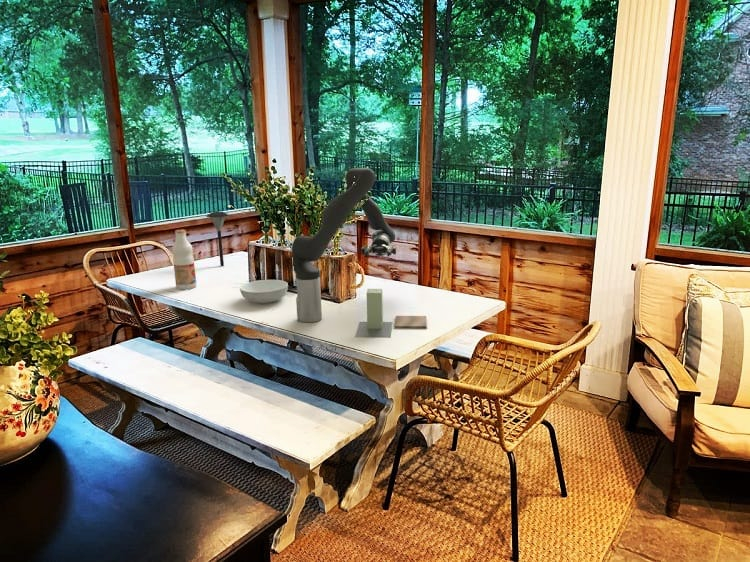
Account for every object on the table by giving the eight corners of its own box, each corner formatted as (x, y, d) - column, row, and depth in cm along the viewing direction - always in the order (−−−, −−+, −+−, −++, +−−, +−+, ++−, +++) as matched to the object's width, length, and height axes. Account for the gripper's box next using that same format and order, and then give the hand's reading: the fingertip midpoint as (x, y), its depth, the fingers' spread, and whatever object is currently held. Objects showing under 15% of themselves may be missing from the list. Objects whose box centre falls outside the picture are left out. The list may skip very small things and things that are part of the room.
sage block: (367, 328, 213) (366, 292, 210) (368, 323, 219) (367, 288, 215) (381, 328, 213) (381, 292, 209) (382, 323, 218) (382, 288, 215)
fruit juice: (173, 287, 275) (167, 230, 268) (192, 283, 281) (187, 227, 273) (179, 291, 268) (173, 232, 261) (199, 287, 273) (193, 230, 266)
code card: (354, 337, 205) (354, 337, 205) (359, 321, 221) (359, 321, 221) (390, 338, 204) (390, 337, 204) (392, 322, 220) (392, 321, 220)
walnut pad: (394, 328, 213) (394, 326, 213) (395, 318, 225) (395, 315, 225) (426, 328, 212) (426, 326, 212) (426, 318, 224) (426, 315, 224)
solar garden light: (216, 269, 307) (211, 214, 299) (207, 266, 316) (201, 212, 308) (237, 266, 315) (232, 212, 307) (227, 262, 324) (222, 210, 316)
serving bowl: (267, 291, 266) (266, 276, 264) (298, 298, 253) (297, 284, 251) (231, 301, 250) (229, 286, 249) (262, 310, 237) (260, 294, 236)
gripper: (363, 236, 242) (359, 245, 226) (397, 236, 241) (395, 244, 225) (364, 253, 244) (360, 263, 228) (397, 253, 243) (395, 263, 227)
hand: (377, 254), depth 227 cm, fingers open, 8 cm apart
